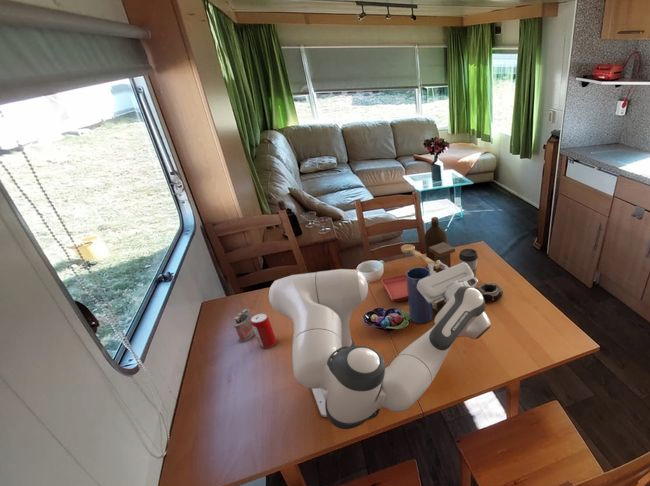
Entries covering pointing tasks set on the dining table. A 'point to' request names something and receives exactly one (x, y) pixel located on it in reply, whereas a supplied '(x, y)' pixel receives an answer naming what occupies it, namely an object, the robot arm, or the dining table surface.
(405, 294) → the plant saucer
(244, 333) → the lighter
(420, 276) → the crock
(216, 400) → the dining table surface
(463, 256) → the coffee cup
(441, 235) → the olive oil
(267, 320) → the soda can
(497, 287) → the donut
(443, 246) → the stand
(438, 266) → the spoon
